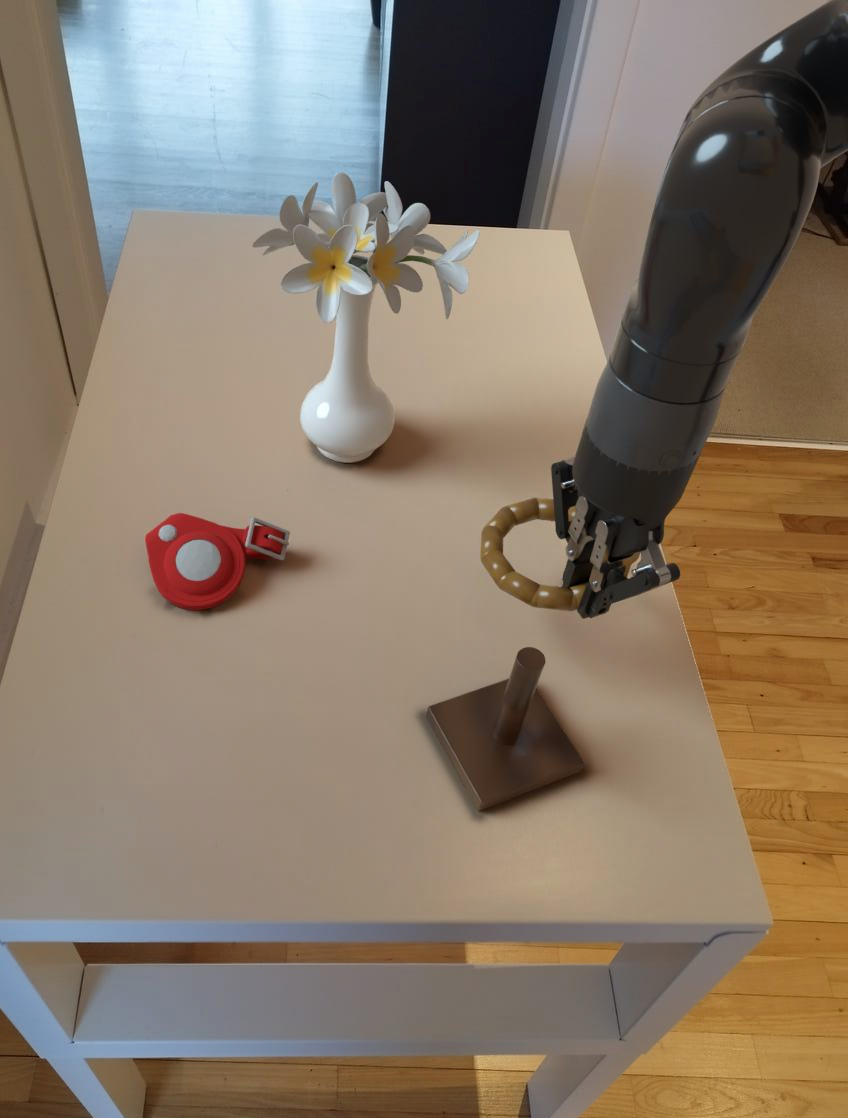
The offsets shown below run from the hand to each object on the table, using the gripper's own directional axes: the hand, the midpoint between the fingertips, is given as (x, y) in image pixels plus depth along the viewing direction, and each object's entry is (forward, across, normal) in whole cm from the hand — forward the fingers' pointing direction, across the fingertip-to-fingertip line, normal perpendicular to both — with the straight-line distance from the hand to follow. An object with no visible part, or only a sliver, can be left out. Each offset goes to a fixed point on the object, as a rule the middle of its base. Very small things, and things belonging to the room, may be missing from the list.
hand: (581, 601), depth 72 cm
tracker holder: (+7, +19, +24) cm, 32 cm away
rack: (+7, -6, +9) cm, 13 cm away
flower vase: (+7, +31, +6) cm, 33 cm away
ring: (-1, +5, 0) cm, 5 cm away
